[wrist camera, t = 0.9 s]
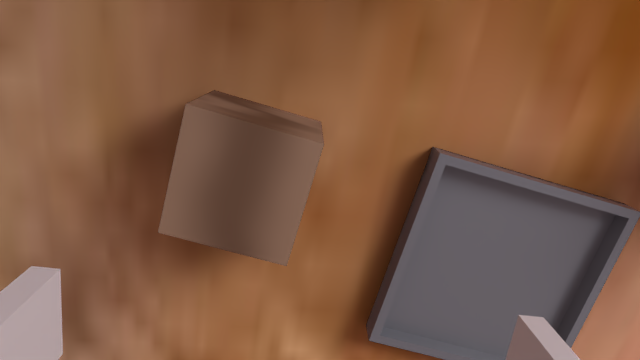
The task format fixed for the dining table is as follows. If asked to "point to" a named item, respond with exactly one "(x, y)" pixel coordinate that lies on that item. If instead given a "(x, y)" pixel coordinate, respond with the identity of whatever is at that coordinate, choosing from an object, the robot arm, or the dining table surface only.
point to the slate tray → (494, 259)
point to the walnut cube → (241, 176)
